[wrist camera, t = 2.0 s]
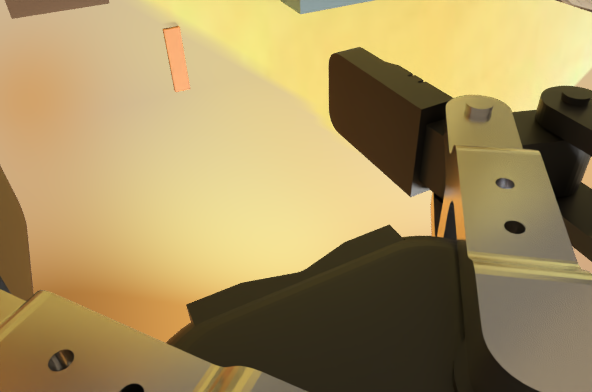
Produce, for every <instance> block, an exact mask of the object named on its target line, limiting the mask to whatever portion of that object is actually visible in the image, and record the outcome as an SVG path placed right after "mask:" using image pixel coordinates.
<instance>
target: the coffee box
mask: <svg viewBox="0 0 592 392" xmlns="http://www.w3.org/2000/svg"><path fill="white" fill-rule="evenodd" d="M557 1H560V2H563V3H566V4H569V5H572V6H574V7H578V8H581V9H584V10H587V11H590V12H592V0H557Z"/></svg>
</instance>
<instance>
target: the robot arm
mask: <svg viewBox="0 0 592 392" xmlns="http://www.w3.org/2000/svg"><path fill="white" fill-rule="evenodd" d="M329 113H330V118H331V121H332V124H333V126H334V128H335V129H336V131H337V132H338V133H339V134H340V135H342V136H343V137H344V138H345V139H346V140H347V141H348V142H349V143H351V144H352V145H353V146H354V147H355V148H356V149H357V150H358V151H359V152H361V153H362V154H363V155H364V156H365V157H366V158H367V159H368V160H370V161H371V162H372V163H373V164H374V165H375V166H376V167H378V168H379V169H380V170H381V171H382V172H383V173H384V174H385V175H387V176H388V177H389V178H390V179H391V180H392V181H393V182H394V183H395V184H397V185H398V186H399V187H400V188H401V189H402V190H403V191H404V192H406V193H407V194H408V195H409V196H410V197H412V196H415V195H417V194H420V193H423V192H425V191H428V190H431V191H432V198H431V232H432V233H431V234H432V236H409V237H401V236H400V235H399V234H398V233H397V232H396V231H395V230H394V229H393V228H392V227H391V226H390V225H387V226H385V227H382V228H380V229H377V230H375V231H372V232H369V233H367V234H364V235H362V236H359V237H357V238H355V239H352V240H349V241H347V242H345V243H343V244H342V245H340V246H339V247H337V248H336V249H334V250H333V251H331V252H330V253H329V254H327V255H326V256H324V257H323V258H321V259H320V260H318V261H317V262H316V263H314V264H313V265H311V266H310V267H308V268H307V269H305V270H304V271H301V272H298V273H293V274H287V275H282V276H276V277H271V278H265V279H260V280H255V281H249V282H244V283H240V284H238V285H235V286H233V287H230V288H227V289H225V290H222V291H220V292H217V293H215V294H212V295H210V296H207V297H205V298H202V299H200V300H197V301H194V302H192V303H189V304H187V305H186V306H187V309H188V312H189V316H190V320H191V323H189V324H188V325H187V326H185V327H184V328H182V329H181V330H180V331H179V332H178V333H176V334H175V335H174V336H173V337H172V338H170V339H169V340H168V341H167V342H166V343H164V342H162V341H160V340H158V339H155V338H153V337H151V336H149V335H146V334H144V333H142V332H139V331H137V330H135V329H133V328H130V327H128V326H126V325H124V324H121V323H119V322H117V321H115V320H112V319H110V318H108V317H105V316H103V315H101V314H99V313H97V312H94V311H92V310H90V309H88V308H85V307H83V306H81V305H79V304H76V303H74V302H72V301H69V300H67V299H65V298H63V297H61V296H58V295H56V294H54V293H51V292H49V291H45V290H40V291H37V292H36V293H35V294H34V295H33V285H32V275H31V265H30V254H29V244H28V235H27V225H26V221H25V217H24V214H23V211H22V208H21V206H20V204H19V202H18V200H17V197H16V195H15V193H14V192H13V189H12V188H11V186H10V184H9V182H8V180H7V178H6V176H5V174H4V172H3V170H2V168H1V166H0V392H592V274H591V273H590V272H589V271H585V270H582V269H581V268H580V267H579V265H578V262H577V260H576V257H575V254H574V251H573V248H572V246H573V247H574V248H575V249H577V250H578V251H579V252H580V253H582V254H583V255H584V256H585V257H587V258H588V259H589V260H590V261H592V189H591V188H589V187H588V186H586V185H585V184H583V183H582V182H581V181H582V178H583V176H584V173H585V170H586V168H587V165H588V163H589V160H590V158H591V157H592V91H591V90H589V89H585V88H580V87H574V86H557V87H551V88H548V89H546V90H544V91H543V92H542V94H541V97H540V100H539V104H538V107H537V110H530V111H520V112H512V111H511V108H510V107H509V106H508V105H507V104H505V103H504V102H502V101H500V100H498V99H495V98H492V97H487V96H481V95H464V96H459V97H456V98H452V97H451V96H449V95H447V94H446V93H444V92H442V91H441V90H439V89H437V88H436V87H434V86H432V85H431V84H429V83H427V82H423V80H422V79H421V78H419V77H417V76H416V75H414V76H413V74H412V73H411V72H409V71H407V70H406V69H404V68H402V67H401V66H398V65H395V64H391V63H388V62H384V61H383V60H381V59H379V58H378V57H376V56H375V55H373V54H371V53H370V52H368V51H366V50H365V49H363V48H361V47H358V48H354V49H350V50H346V51H342V52H338V53H334V54H332V55H331V57H330V60H329Z"/></svg>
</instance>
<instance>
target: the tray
mask: <svg viewBox="0 0 592 392" xmlns="http://www.w3.org/2000/svg"><path fill="white" fill-rule="evenodd" d="M281 1H282V2H283V3H285V4H286V5H288V6H289V7H291V8H292V9H294V10H295V11H297V12H298V13H299V14H304V13H309V12H315V11H320V10H325V9H331V8H336V7H341V6H347V5H352V4H357V3H362V2H368V1H373V0H281Z"/></svg>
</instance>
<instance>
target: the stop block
mask: <svg viewBox="0 0 592 392" xmlns="http://www.w3.org/2000/svg"><path fill="white" fill-rule="evenodd" d="M5 2H6V5H7V7H8V10H9V12H10V15H11V17H12V19H13V18H19V17H26V16H32V15H38V14H45V13H51V12H57V11H64V10H70V9H76V8H83V7H89V6H95V5H101V4H108V3H109V0H5Z"/></svg>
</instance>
